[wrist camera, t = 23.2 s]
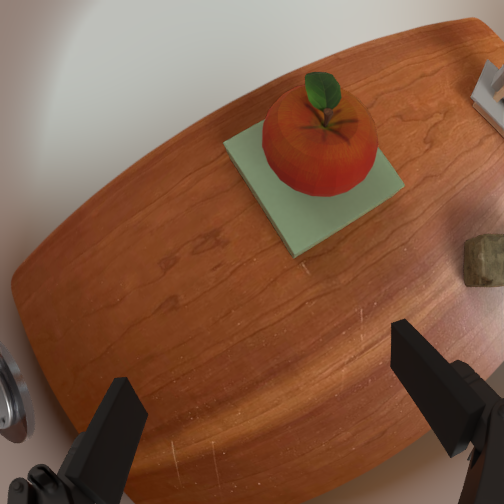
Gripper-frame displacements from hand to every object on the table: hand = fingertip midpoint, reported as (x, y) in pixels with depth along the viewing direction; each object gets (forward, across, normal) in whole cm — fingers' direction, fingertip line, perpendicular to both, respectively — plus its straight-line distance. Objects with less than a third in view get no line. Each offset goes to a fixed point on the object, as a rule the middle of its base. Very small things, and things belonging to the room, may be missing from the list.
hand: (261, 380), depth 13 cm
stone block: (+14, +29, -6) cm, 33 cm away
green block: (+20, +8, +8) cm, 23 cm away
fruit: (+17, +8, +9) cm, 21 cm away
